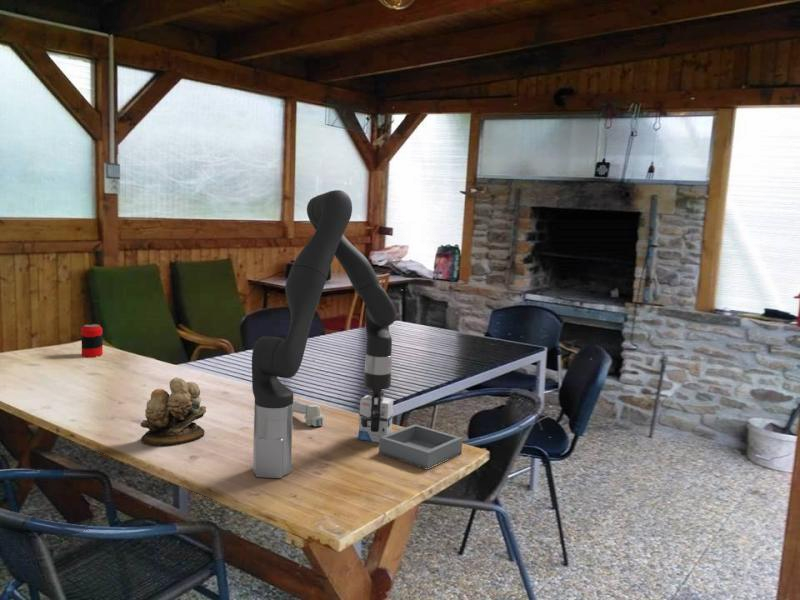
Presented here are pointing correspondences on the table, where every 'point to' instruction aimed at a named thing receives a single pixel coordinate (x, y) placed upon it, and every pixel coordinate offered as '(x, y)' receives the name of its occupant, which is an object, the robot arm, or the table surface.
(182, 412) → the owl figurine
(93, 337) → the soda can
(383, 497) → the table surface
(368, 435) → the ink box
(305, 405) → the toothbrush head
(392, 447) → the walled crate
